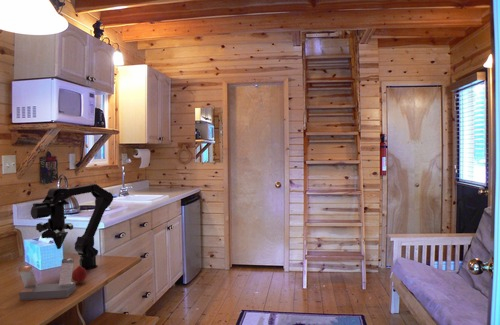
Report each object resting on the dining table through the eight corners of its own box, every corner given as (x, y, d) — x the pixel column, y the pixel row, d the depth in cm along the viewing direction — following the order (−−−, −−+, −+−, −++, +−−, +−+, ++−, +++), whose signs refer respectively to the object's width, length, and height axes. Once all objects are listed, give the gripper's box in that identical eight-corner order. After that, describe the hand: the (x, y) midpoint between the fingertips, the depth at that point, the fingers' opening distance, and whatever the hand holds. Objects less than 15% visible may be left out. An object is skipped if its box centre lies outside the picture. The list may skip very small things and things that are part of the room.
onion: (83, 279, 156) (82, 262, 156) (89, 282, 153) (88, 264, 152) (70, 283, 152) (69, 265, 152) (76, 286, 148) (75, 268, 148)
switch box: (30, 292, 144) (30, 284, 143) (75, 289, 145) (75, 281, 145) (19, 300, 136) (19, 291, 135) (67, 297, 137) (67, 289, 137)
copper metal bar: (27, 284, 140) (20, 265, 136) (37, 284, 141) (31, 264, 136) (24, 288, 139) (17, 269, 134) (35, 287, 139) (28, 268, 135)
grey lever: (60, 284, 141) (64, 259, 145) (71, 284, 142) (74, 258, 145) (58, 284, 140) (61, 259, 143) (69, 284, 140) (72, 258, 143)
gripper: (49, 212, 169) (50, 244, 169) (27, 219, 150) (29, 255, 151) (73, 211, 170) (74, 243, 170) (54, 218, 151) (56, 254, 152)
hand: (58, 248), depth 161 cm, fingers closed
